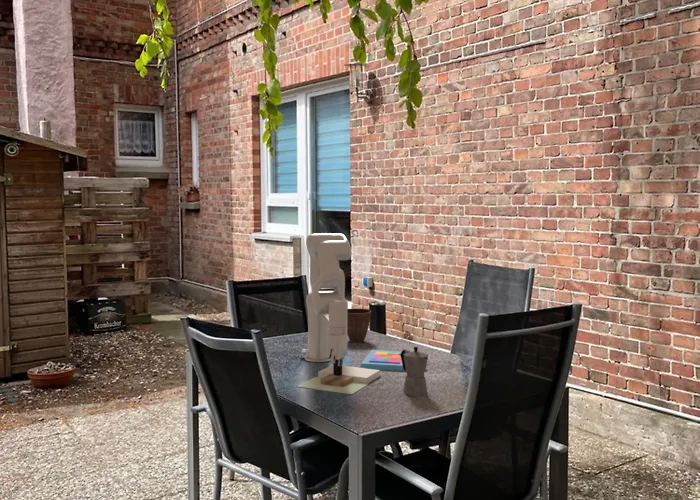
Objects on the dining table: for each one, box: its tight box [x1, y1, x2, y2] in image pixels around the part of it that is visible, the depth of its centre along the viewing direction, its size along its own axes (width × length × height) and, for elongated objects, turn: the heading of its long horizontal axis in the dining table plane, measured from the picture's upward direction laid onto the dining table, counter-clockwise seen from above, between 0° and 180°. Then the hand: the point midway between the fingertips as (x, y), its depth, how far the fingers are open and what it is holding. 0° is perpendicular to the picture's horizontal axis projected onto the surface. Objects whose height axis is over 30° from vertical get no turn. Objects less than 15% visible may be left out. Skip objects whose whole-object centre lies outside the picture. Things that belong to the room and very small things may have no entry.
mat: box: [296, 376, 370, 395], centre depth 279 cm, size 24×16×1 cm, turn 65°
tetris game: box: [360, 349, 406, 372], centre depth 317 cm, size 28×3×28 cm
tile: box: [321, 374, 353, 387], centre depth 282 cm, size 10×9×2 cm
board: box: [317, 364, 381, 384], centre depth 292 cm, size 22×14×2 cm, turn 65°
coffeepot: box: [400, 346, 429, 397], centre depth 269 cm, size 15×9×18 cm, turn 35°
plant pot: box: [347, 308, 372, 343], centre depth 364 cm, size 15×15×16 cm
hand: (337, 375), depth 282 cm, fingers closed
